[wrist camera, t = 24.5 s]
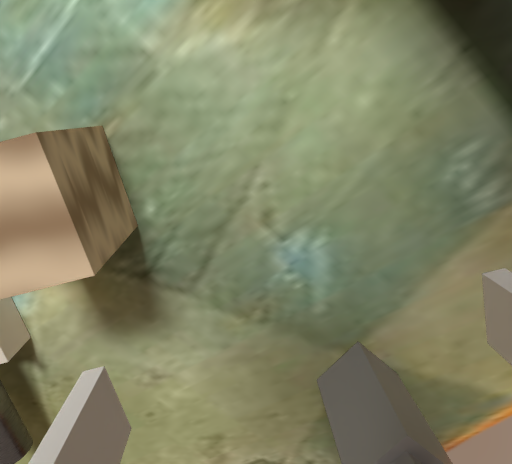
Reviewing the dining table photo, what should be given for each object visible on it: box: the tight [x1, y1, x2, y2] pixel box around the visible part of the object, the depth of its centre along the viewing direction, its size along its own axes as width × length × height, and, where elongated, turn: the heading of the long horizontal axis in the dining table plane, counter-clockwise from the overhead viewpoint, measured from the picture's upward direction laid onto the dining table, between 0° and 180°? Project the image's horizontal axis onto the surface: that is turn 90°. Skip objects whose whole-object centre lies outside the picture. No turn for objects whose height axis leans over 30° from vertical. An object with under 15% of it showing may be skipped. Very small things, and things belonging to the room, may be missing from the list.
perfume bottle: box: [317, 342, 452, 464], centre depth 37 cm, size 7×7×18 cm
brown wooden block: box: [0, 126, 138, 299], centre depth 32 cm, size 10×8×12 cm
